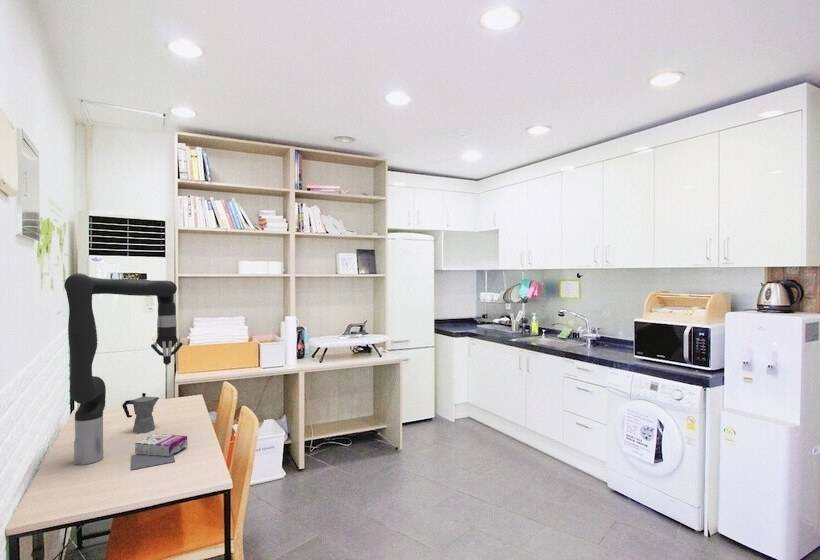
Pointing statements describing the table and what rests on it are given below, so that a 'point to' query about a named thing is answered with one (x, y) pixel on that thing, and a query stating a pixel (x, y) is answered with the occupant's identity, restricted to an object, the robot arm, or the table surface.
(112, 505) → the table surface
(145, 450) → the candy bar box
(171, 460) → the mat
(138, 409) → the coffeepot
